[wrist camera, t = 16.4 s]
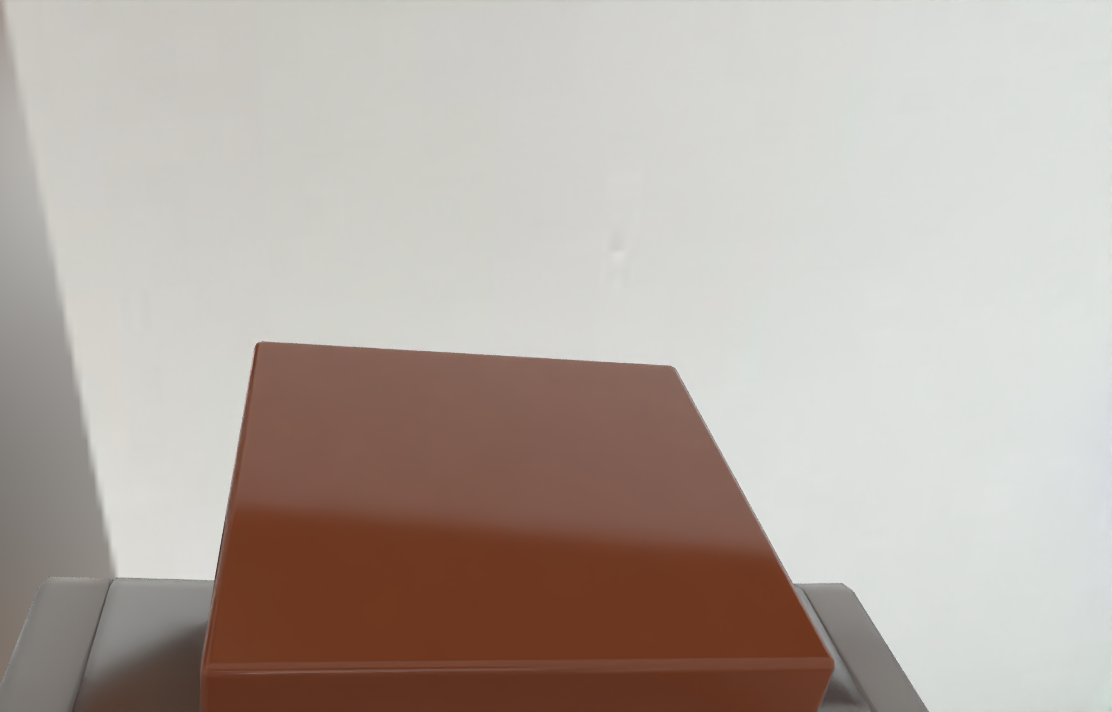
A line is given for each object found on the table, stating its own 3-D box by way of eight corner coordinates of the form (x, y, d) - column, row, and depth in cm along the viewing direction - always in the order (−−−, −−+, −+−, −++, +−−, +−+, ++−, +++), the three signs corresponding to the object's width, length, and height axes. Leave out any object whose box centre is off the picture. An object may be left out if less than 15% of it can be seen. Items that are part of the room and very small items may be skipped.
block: (245, 664, 11) (198, 1063, 8) (254, 337, 9) (198, 670, 6) (603, 660, 12) (702, 1016, 9) (676, 363, 10) (840, 665, 7)
